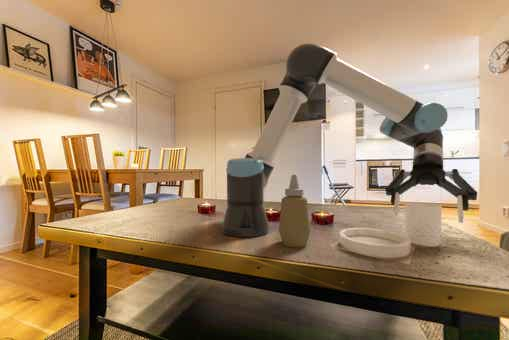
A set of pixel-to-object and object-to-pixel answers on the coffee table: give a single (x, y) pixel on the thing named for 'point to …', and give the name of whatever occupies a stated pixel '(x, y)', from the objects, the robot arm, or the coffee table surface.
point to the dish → (375, 243)
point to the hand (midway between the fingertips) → (425, 216)
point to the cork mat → (401, 260)
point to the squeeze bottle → (294, 216)
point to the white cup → (423, 223)
